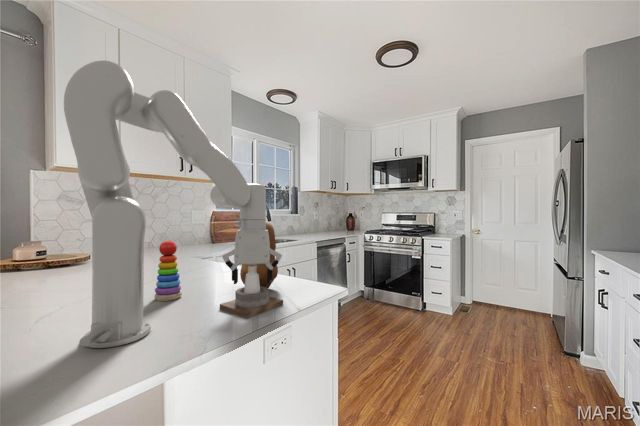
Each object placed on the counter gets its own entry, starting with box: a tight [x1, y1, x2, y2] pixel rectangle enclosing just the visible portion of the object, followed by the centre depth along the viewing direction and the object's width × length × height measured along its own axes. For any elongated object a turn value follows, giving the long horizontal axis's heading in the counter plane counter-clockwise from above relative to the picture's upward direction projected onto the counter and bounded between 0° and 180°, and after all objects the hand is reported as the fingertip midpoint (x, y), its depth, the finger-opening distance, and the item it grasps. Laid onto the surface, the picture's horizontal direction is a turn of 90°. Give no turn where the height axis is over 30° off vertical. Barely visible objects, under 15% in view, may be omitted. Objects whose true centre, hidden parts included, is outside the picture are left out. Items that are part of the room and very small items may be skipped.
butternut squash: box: [239, 221, 279, 289], centre depth 103 cm, size 14×13×25 cm
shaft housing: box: [219, 286, 284, 319], centre depth 85 cm, size 14×12×5 cm
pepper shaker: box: [243, 265, 260, 294], centre depth 85 cm, size 5×5×11 cm
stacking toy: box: [153, 240, 183, 302], centre depth 93 cm, size 8×8×19 cm
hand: (252, 282), depth 85 cm, fingers open, 9 cm apart
